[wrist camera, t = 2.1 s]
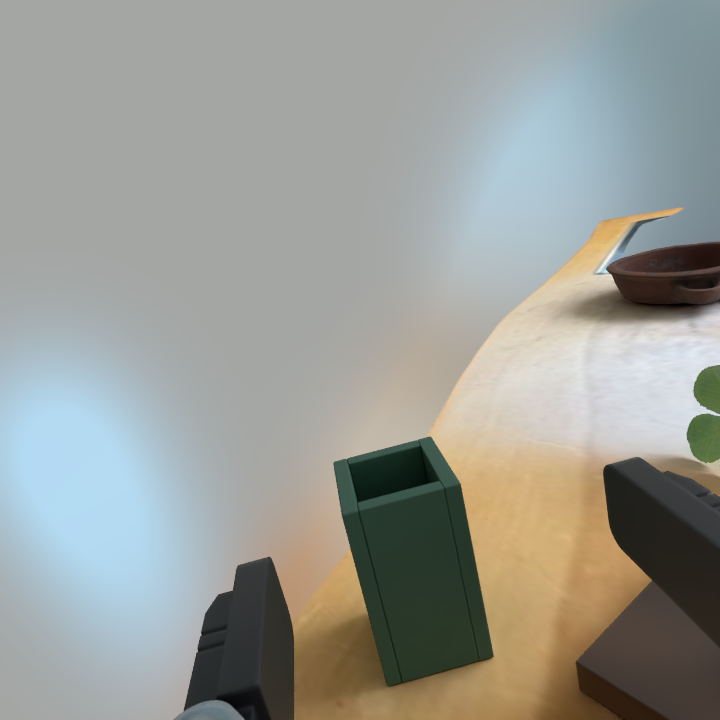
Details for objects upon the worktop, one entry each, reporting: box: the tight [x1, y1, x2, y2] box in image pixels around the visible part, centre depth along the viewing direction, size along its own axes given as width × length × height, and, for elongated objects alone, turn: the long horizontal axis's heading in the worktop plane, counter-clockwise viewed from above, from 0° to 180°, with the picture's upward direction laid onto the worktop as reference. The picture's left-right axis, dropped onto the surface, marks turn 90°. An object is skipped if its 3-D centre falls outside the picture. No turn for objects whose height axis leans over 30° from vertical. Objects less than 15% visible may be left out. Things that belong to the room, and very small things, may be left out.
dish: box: [606, 242, 720, 304], centre depth 71 cm, size 18×22×5 cm
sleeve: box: [334, 437, 494, 686], centre depth 26 cm, size 5×5×9 cm
